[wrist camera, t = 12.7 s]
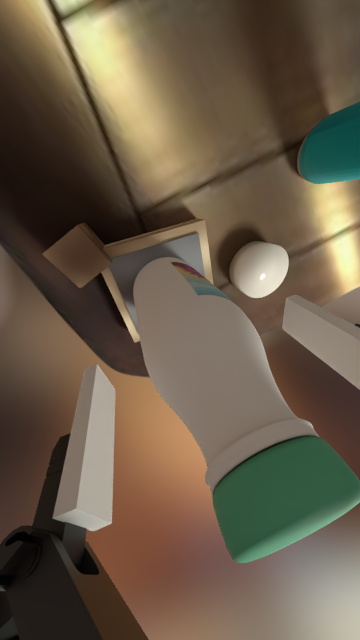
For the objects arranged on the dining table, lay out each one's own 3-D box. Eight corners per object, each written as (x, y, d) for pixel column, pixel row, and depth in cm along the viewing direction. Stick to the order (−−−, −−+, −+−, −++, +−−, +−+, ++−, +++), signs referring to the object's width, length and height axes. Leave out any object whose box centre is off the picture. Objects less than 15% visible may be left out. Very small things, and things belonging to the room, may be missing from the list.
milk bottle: (149, 326, 24) (213, 590, 8) (119, 272, 20) (119, 612, 3) (203, 303, 24) (378, 503, 8) (186, 244, 20) (496, 417, 4)
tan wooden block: (55, 246, 19) (41, 254, 16) (84, 221, 19) (77, 225, 16) (86, 276, 22) (80, 288, 18) (113, 254, 21) (111, 263, 18)
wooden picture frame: (94, 248, 20) (91, 253, 18) (196, 218, 22) (205, 219, 19) (133, 332, 27) (134, 343, 25) (209, 305, 28) (217, 314, 26)
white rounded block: (227, 249, 24) (239, 254, 22) (274, 234, 25) (291, 237, 23) (230, 295, 28) (241, 304, 26) (271, 281, 29) (285, 288, 27)
